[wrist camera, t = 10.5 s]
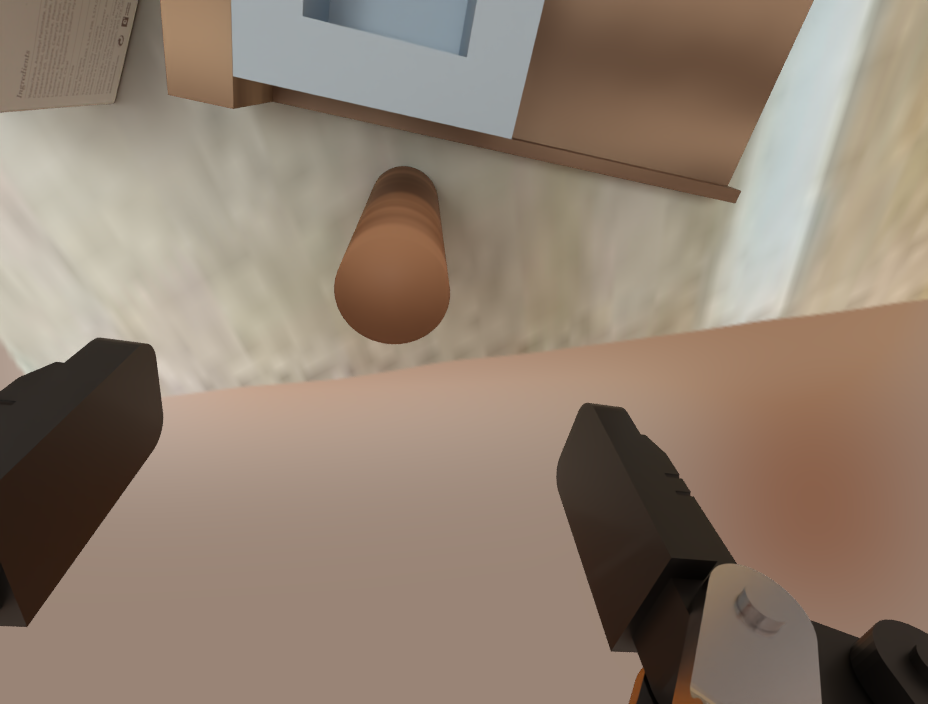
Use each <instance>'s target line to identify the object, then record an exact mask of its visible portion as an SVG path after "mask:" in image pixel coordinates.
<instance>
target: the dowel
mask: <svg viewBox="0 0 928 704" xmlns="http://www.w3.org/2000/svg"><path fill="white" fill-rule="evenodd" d="M334 293H335V300H336V303H337V306H338V309H339V311H340V313H341V315H342V316H343V318H344V319H345V320H346V322H347V323H348V324H349V325H350V326H351V327H352V328H353V329H354V330H355V331H357V332H358V333H359V334H361V335H363V336H365V337H367V338H369V339H371V340H374V341H377V342H381V343H386V344H402V343H408V342H412V341H415V340H418V339H420V338H422V337H424V336H426V335H427V334H429V333H430V332H431V331H432V330H434V329H435V328H436V327H437V326H438V324H439V323H440V322H441V320H442V319H443V317H444V315H445V313H446V311H447V308H448V305H449V299H450V287H449V279H448V272H447V264H446V257H445V249H444V241H443V234H442V226H441V218H440V211H439V203H438V196H437V191H436V189H435V186H434V184H433V183H432V181H431V180H430V179H429V178H428V177H427V176H426V175H425V174H424V173H423V172H421V171H419V170H417V169H415V168H412V167H407V166H400V167H395V168H392V169H389V170H387V171H386V172H384V173H383V174H382V175H381V176H380V177H379V178H378V180H377V181H376V183H375V185H374V187H373V189H372V192H371V194H370V196H369V199H368V201H367V203H366V206H365V208H364V210H363V213H362V215H361V217H360V220H359V222H358V224H357V227H356V229H355V232H354V234H353V236H352V239H351V241H350V243H349V246H348V248H347V250H346V253H345V255H344V257H343V260H342V262H341V264H340V267H339V269H338V271H337V275H336V278H335V284H334Z"/></svg>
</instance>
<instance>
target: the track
mask: <svg viewBox="0 0 928 704" xmlns="http://www.w3.org/2000/svg"><path fill="white" fill-rule="evenodd" d="M813 1H814V0H545V1H544V5H543V9H542V13H541V17H540V22H539V26H538V30H537V34H536V38H535V43H534V47H533V51H532V55H531V59H530V64H529V68H528V72H527V76H526V80H525V85H524V89H523V93H522V97H521V101H520V106H519V110H518V114H517V118H516V122H515V127H514V131H513V135H512V139H509V138H504V137H500V136H496V135H491V134H487V133H482V132H478V131H473V130H469V129H465V128H460V127H456V126H451V125H447V124H442V123H438V122H434V121H429V120H425V119H420V118H416V117H411V116H407V115H402V114H398V113H394V112H389V111H385V110H380V109H376V108H371V107H367V106H363V105H358V104H354V103H349V102H345V101H340V100H336V99H332V98H327V97H323V96H318V95H314V94H309V93H305V92H301V91H296V90H292V89H287V88H283V87H278V86H274V85H269V84H265V83H261V82H256V81H252V80H247V79H243V78H238V77H234V76H233V56H232V15H231V0H160V5H161V17H162V29H163V41H164V53H165V65H166V77H167V88H168V95H172V96H176V97H181V98H186V99H190V100H195V101H200V102H204V103H209V104H213V105H218V106H223V107H227V108H232V109H235V108H240V107H246V106H251V105H256V104H262V103H267V102H277V103H282V104H286V105H291V106H295V107H300V108H304V109H309V110H313V111H318V112H323V113H327V114H332V115H336V116H341V117H345V118H350V119H354V120H359V121H363V122H368V123H373V124H377V125H382V126H386V127H391V128H395V129H400V130H404V131H409V132H413V133H418V134H423V135H427V136H432V137H436V138H441V139H445V140H450V141H454V142H459V143H463V144H468V145H473V146H477V147H482V148H486V149H491V150H495V151H500V152H504V153H509V154H513V155H518V156H523V157H527V158H532V159H536V160H541V161H545V162H550V163H554V164H559V165H563V166H568V167H573V168H577V169H582V170H586V171H591V172H595V173H600V174H604V175H609V176H613V177H618V178H623V179H627V180H632V181H636V182H641V183H645V184H650V185H654V186H659V187H663V188H668V189H673V190H677V191H682V192H686V193H691V194H695V195H700V196H704V197H709V198H713V199H718V200H723V201H727V202H732V203H736V201H737V199H738V197H739V194H740V192H741V191H740V190H737V189H734V188H732V187H729V186H728V184H729V182H730V180H731V178H732V175H733V173H734V171H735V169H736V167H737V165H738V162H739V160H740V158H741V156H742V154H743V152H744V150H745V147H746V145H747V143H748V141H749V139H750V137H751V134H752V132H753V130H754V128H755V126H756V124H757V122H758V119H759V117H760V115H761V113H762V111H763V109H764V106H765V104H766V102H767V100H768V98H769V96H770V93H771V91H772V89H773V87H774V85H775V83H776V81H777V78H778V76H779V74H780V72H781V70H782V68H783V65H784V63H785V61H786V59H787V57H788V55H789V53H790V50H791V48H792V46H793V44H794V42H795V40H796V37H797V35H798V33H799V31H800V29H801V27H802V24H803V22H804V20H805V18H806V16H807V14H808V12H809V9H810V7H811V5H812V3H813Z"/></svg>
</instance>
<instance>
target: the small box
mask: <svg viewBox="0 0 928 704" xmlns="http://www.w3.org/2000/svg"><path fill="white" fill-rule="evenodd" d="M137 4H138V0H0V113H2V112H13V111H25V110H36V109H48V108H61V107H74V106H86V105H99V104H113V103H114V101H115V98H116V94H117V89H118V86H119V81H120V77H121V73H122V69H123V65H124V60H125V55H126V51H127V47H128V43H129V38H130V34H131V30H132V26H133V21H134V16H135V12H136V8H137Z"/></svg>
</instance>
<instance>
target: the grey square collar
mask: <svg viewBox="0 0 928 704" xmlns="http://www.w3.org/2000/svg"><path fill="white" fill-rule="evenodd" d="M544 1H545V0H231V15H232V56H233V76H234V77H238V78H243V79H247V80H252V81H256V82H261V83H265V84H269V85H274V86H278V87H283V88H287V89H292V90H296V91H301V92H305V93H309V94H314V95H318V96H323V97H327V98H332V99H336V100H340V101H345V102H349V103H354V104H358V105H363V106H367V107H371V108H376V109H380V110H385V111H389V112H394V113H398V114H402V115H407V116H411V117H416V118H420V119H425V120H429V121H434V122H438V123H442V124H447V125H451V126H456V127H460V128H465V129H469V130H473V131H478V132H482V133H487V134H491V135H496V136H500V137H504V138H509V139H512V135H513V131H514V127H515V122H516V118H517V114H518V110H519V106H520V101H521V97H522V93H523V89H524V85H525V80H526V76H527V72H528V68H529V64H530V59H531V55H532V51H533V47H534V43H535V38H536V34H537V30H538V26H539V22H540V17H541V13H542V9H543V5H544Z"/></svg>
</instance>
